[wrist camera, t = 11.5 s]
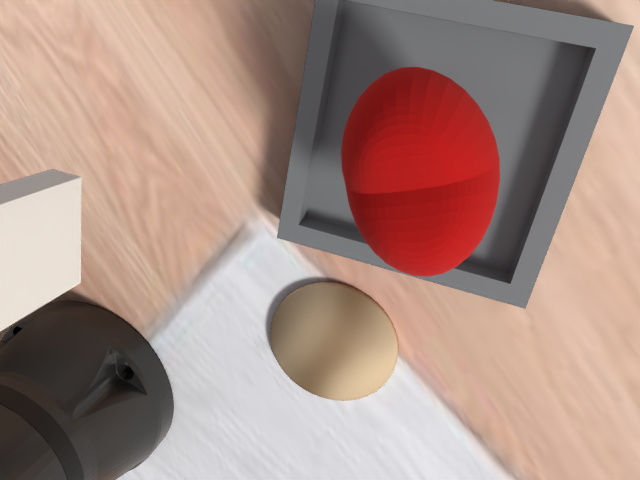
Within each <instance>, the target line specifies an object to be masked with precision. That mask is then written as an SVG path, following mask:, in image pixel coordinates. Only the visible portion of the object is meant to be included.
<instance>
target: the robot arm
mask: <svg viewBox="0 0 640 480" xmlns="http://www.w3.org/2000/svg"><path fill="white" fill-rule="evenodd" d="M80 283H81V177H79V176H76V175H72V174H68V173H65V172H61V171H58V170H54V169H51V170H47V171H44V172H41V173H37V174H34V175H31V176H27V177H24V178H21V179H17V180H14V181H10V182H7V183H4V184H0V331H2V330H4V329H5V328H7V327H9V326H10V325H12V324H13V323H15V322H17V321H18V320H20V319H21V320H20V321H18V322H17V323H16V324H15V325H14V326H13V327H11V328H10V330H9V331H8V332H7V333H6V334H5V336H4V337H3V338H2V340H1V342H0V480H116V479H117V478H119V477H120V476H122V475H123V474H125V473H126V472H128V471H130V470H132V469H134V468H136V467H137V466H139V465H140V464H141V463H142V462H144V461H145V460H146V459H147V458H148V457H149V456H150V455H151V454H152V452H153V451H154V450H155V449H156V447H157V446H158V445H159V444H160V442H161V441H162V440H163V439H164V437H165V436H166V434H167V432H168V430H169V428H170V425H171V422H172V418H173V409H174V404H173V394H172V389H171V385H170V382H169V379H168V376H167V374H166V371H165V369H164V367H163V365H162V363H161V362H160V360H159V358H158V357H157V355H156V354H155V352H154V351H153V350H152V348H151V347H150V346H149V344H148V343H147V342H146V341H145V340H144V339H143V338H142V337H141V336H140V335H139V334H138V333H137V332H136V331H135V330H134V329H133V328H132V327H131V326H129V325H128V324H127V323H125V322H124V321H123V320H121V319H120V318H118V317H116V316H115V315H113V314H111V313H109V312H107V311H105V310H103V309H101V308H98V307H96V306H93V305H89V304H86V303H81V302H72V301H63V302H55V303H51V304H48V305H45V304H47V303H48V302H50V301H51V300H53V299H55V298H56V297H58V296H60V295H61V294H63V293H65V292H66V291H68V290H70V289H71V288H73V287H75V286H76V285H78V284H80ZM43 305H45V306H43ZM42 306H43V307H42ZM40 307H41V308H40ZM38 308H39V309H38ZM37 309H38V310H37ZM35 310H36V311H35ZM33 311H34V312H33ZM32 312H33V313H32ZM30 313H31V314H30ZM28 314H29V315H28ZM27 315H28V316H27ZM25 316H26V317H25ZM23 317H25V318H23ZM22 318H23V319H22Z"/></svg>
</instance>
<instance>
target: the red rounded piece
mask: <svg viewBox="0 0 640 480" xmlns="http://www.w3.org/2000/svg"><path fill="white" fill-rule="evenodd" d="M341 165H342V173H343V177H344V181H345V186H346V191H347V197H348V203H349V207H350V209H351V212H352V215H353V218H354V221H355V224H356V225H357V227H358V229H359V231H360V233H361V235H362V237H363V239H364V240H365V241H366V243H367V244H368V245H369V247H370V248H371V249H372V250H373V252H374V253H375V254H376V255H377V256H378V257H380V258H381V259H382V260H383V261H384V262H385V263H386V264H388V265H390V266H391V267H393V268H395V269H397V270H398V271H400V272H403V273H407V274H410V275H413V276H426V277H429V276H434V275H438V274H443V273H445V272H447V271H449V270H451V269H453V268H455V267H457V266H458V265H459V264H461V263H462V262H463V261H464V260H465V259H467V258H468V257H469V256H470V255H471V254H472V252H473V251H474V250H475V249H476V247H477V246H478V245H479V243H480V242H481V241H482V239H483V237H484V235H485V233H486V231H487V229H488V227H489V225H490V223H491V220H492V216H493V213H494V210H495V207H496V203H497V197H498V190H499V183H500V158H499V153H498V148H497V143H496V139H495V137H494V134H493V132H492V129H491V127H490V124H489V122H488V120H487V118H486V116H485V115H484V113H483V112H482V110H481V108H480V107H479V105H478V104H477V103H476V102H475V100H474V99H473V98H472V97H471V96H470V95H469V94H468V93H467V91H466V90H465V89H463V88H462V87H461V86H460V85H458V84H457V83H456V82H454V81H453V80H452V79H450V78H449V77H447V76H444V75H442V74H440V73H438V72H436V71H434V70H430V69H426V68H421V67H403V68H398V69H396V70H393V71H390V72H388V73H385V74H384V75H382V76H381V77H379V78H378V79H377V80H375V81H374V82H373V83H371V84H370V85H369V86H368V88H367V89H366V90H365V91H364V92H363V93H362V94H361V96H360V97H359V98H358V100H357V102H356V103H355V105H354V107H353V109H352V110H351V112H350V114H349V117H348V120H347V123H346V126H345V129H344V133H343V140H342V147H341Z"/></svg>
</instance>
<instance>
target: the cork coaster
mask: <svg viewBox="0 0 640 480" xmlns="http://www.w3.org/2000/svg"><path fill="white" fill-rule="evenodd" d="M270 340H271V346H272V349H273V353H274V355H275V357H276V360H277V362H278V363H279V365H280V366H281V368H282V369H283V371H284V372H285V373H286V374H287V375H288V376H289V377H290V379H291V380H293V381H294V382H295V383H296V384H297V385H299V386H300V387H302V388H303V389H305V390H306V391H308V392H310V393H312V394H315V395H317V396H320V397H323V398H327V399H332V400H342V401H346V400H355V399H360V398H363V397H366V396H368V395H370V394H372V393H374V392H376V391H377V390H379V389H380V388H381V387H382V386H383V385H384V384H385V383H386V382H387V381H388V379H389V378H390V376H391V374H392V373H393V370H394V368H395V365H396V361H397V356H398V339H397V335H396V331H395V328H394V326H393V323H392V322H391V320H390V318H389V316H388V315H387V313H386V312H385V311H384V309H383V308H382V307H381V306H380V305H379V304H378V303H377V302H376V301H375V300H373V299H372V298H371V297H370V296H368V295H367V294H365V293H364V292H362V291H360V290H358V289H356V288H354V287H351V286H348V285H345V284H340V283H335V282H317V283H312V284H308V285H305V286H302V287H300V288H298V289H296V290H295V291H293V292H292V293H290V294H289V295H288V296H287V297H286V298H285V299H284V300H283V301H282V303H281V304H280V305H279V307H278V308H277V310H276V311H275V314H274V316H273V318H272V322H271V328H270Z"/></svg>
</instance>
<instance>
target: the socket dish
mask: <svg viewBox="0 0 640 480" xmlns="http://www.w3.org/2000/svg"><path fill="white" fill-rule="evenodd" d="M633 27H634V26H632V25H626V24H621V23H615V22H610V21H604V20H599V19H593V18H588V17H582V16H577V15H571V14H566V13H560V12H555V11H549V10H544V9H538V8H533V7H527V6H522V5H516V4H511V3H505V2H500V1H494V0H315V6H314V12H313V19H312V25H311V31H310V37H309V43H308V49H307V56H306V62H305V68H304V74H303V80H302V87H301V93H300V99H299V105H298V111H297V117H296V124H295V130H294V136H293V142H292V148H291V155H290V161H289V167H288V173H287V179H286V185H285V192H284V198H283V204H282V210H281V216H280V223H279V229H278V235H277V238H280V239H283V240H287V241H290V242H294V243H297V244H301V245H304V246H308V247H311V248H315V249H318V250H322V251H325V252H329V253H332V254H336V255H339V256H343V257H346V258H350V259H353V260H357V261H360V262H364V263H367V264H371V265H374V266H378V267H381V268H385V269H388V270H392V271H395V272H399V273H402V274H406V275H409V276H413V275H410V274H407V273H403V272H400V271H398V270H397V269H395V268H393V267H391V266H390V265H388V264H386V263H385V262H384V261H383V260H382V259H381V258H380V257H378V256H377V255H376V254H375V253H374V252H373V250H372V249H371V248H370V247H369V245H368V244H367V243H366V241H365V240H364V239H363V237H362V235H361V233H360V231H359V229H358V227H357V225H356V224H355V221H354V218H353V215H352V212H351V209H350V207H349V203H348V197H347V191H346V186H345V181H344V177H343V173H342V165H341V147H342V140H343V133H344V129H345V126H346V123H347V120H348V117H349V114H350V112H351V110H352V109H353V107H354V105H355V103H356V102H357V100H358V98H359V97H360V96H361V94H362V93H363V92H364V91H365V90H366V89H367V88H368V86H369V85H370V84H371V83H373V82H374V81H375V80H377V79H378V78H379V77H381V76H382V75H384V74H385V73H388V72H390V71H393V70H396V69H398V68H403V67H421V68H426V69H430V70H434V71H436V72H438V73H440V74H442V75H444V76H447V77H449V78H450V79H452V80H453V81H454V82H456V83H457V84H458V85H460V86H461V87H462V88H463V89H465V90H466V91H467V93H468V94H469V95H470V96H471V97H472V98H473V99H474V100H475V102H476V103H477V104H478V105H479V107H480V108H481V110H482V112H483V113H484V115H485V116H486V118H487V120H488V122H489V124H490V127H491V129H492V132H493V134H494V137H495V139H496V143H497V148H498V153H499V158H500V183H499V190H498V197H497V203H496V207H495V210H494V213H493V216H492V220H491V223H490V225H489V227H488V229H487V231H486V233H485V235H484V237H483V239H482V241H481V242H480V243H479V245H478V246H477V247H476V249H475V250H474V251H473V252H472V254H471V255H470V256H469V257H468V258H467V259H465V260H464V261H463V262H462V263H461V264H459V265H458V266H457V267H455V268H453V269H451V270H449V271H447V272H445V273H443V274H438V275H434V276H429V277H426V276H413V277H416V278H420V279H423V280H427V281H430V282H434V283H437V284H441V285H444V286H448V287H451V288H455V289H458V290H462V291H465V292H469V293H472V294H476V295H479V296H483V297H486V298H490V299H493V300H497V301H500V302H504V303H507V304H511V305H514V306H518V307H521V308H526V305H527V303H528V300H529V298H530V295H531V292H532V290H533V287H534V285H535V282H536V279H537V277H538V274H539V272H540V269H541V266H542V264H543V261H544V259H545V256H546V253H547V251H548V248H549V246H550V243H551V240H552V238H553V235H554V233H555V230H556V227H557V225H558V222H559V220H560V217H561V214H562V212H563V209H564V207H565V204H566V201H567V199H568V196H569V194H570V191H571V188H572V186H573V183H574V181H575V178H576V175H577V173H578V170H579V168H580V165H581V162H582V160H583V157H584V155H585V152H586V149H587V147H588V144H589V142H590V139H591V136H592V134H593V131H594V129H595V126H596V123H597V121H598V118H599V116H600V113H601V110H602V108H603V105H604V103H605V100H606V97H607V95H608V92H609V90H610V87H611V84H612V82H613V79H614V77H615V74H616V71H617V69H618V66H619V64H620V61H621V58H622V56H623V53H624V51H625V48H626V45H627V43H628V40H629V38H630V35H631V32H632V30H633Z"/></svg>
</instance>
